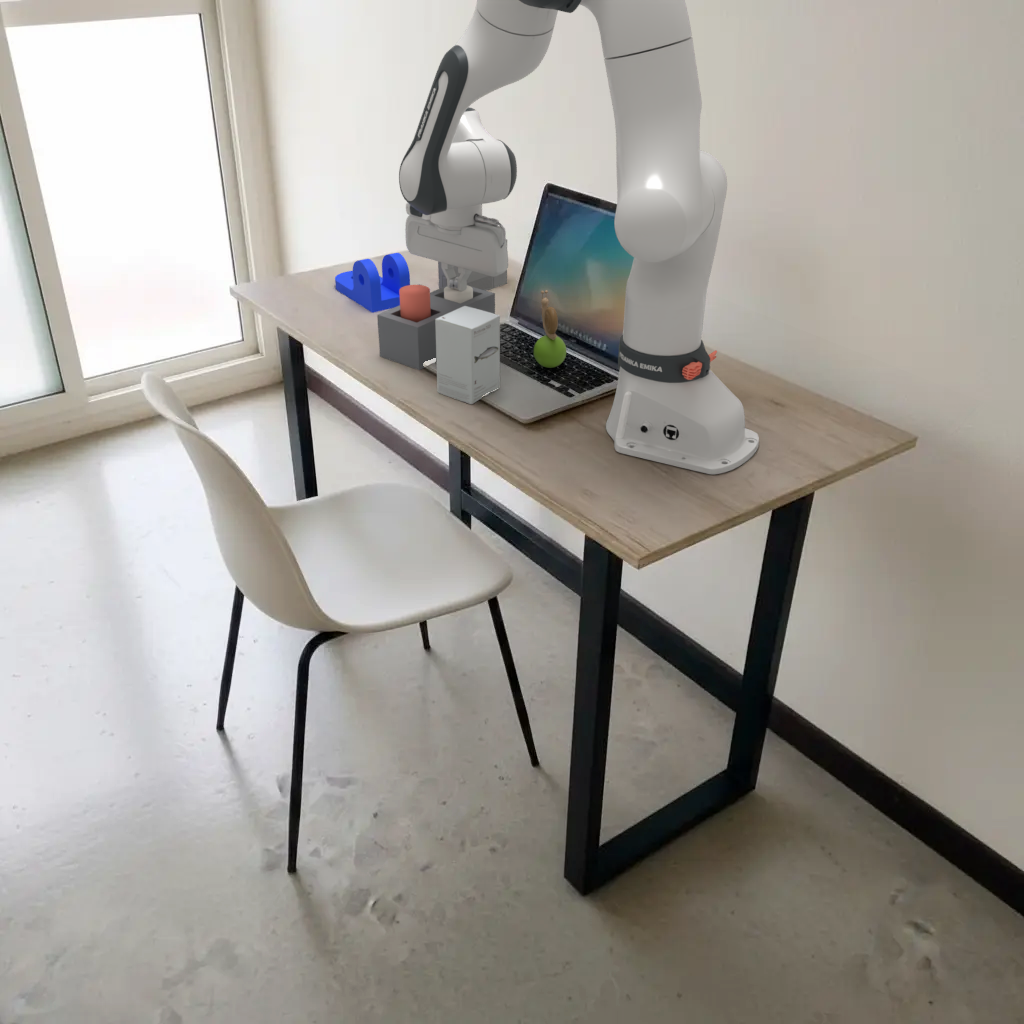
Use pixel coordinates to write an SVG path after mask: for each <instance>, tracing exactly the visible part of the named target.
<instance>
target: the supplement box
mask: <svg viewBox="0 0 1024 1024" xmlns="http://www.w3.org/2000/svg"><path fill="white" fill-rule="evenodd" d="M435 327H436V361H437V362H436V386H437V387H436V390H437V391H436V392H437V393H438V394H441V395H444V396H447V397H449V398H452V399H455V400H458V401H460V402H463V403H467V404H469V405H473V404H474V403H476V402H477V401H479V400H481V399H483V398H482V396H483V395H485V394H486V393H488V392H491V391H493V390H495V389H497V388H499V387H500V385H501V384H500V383H501V381H500V380H501V379H500V378H501V375H500V373H501V372H500V371H501V369H500V368H501V367H500V366H501V364H500V362H501V359H500V358H501V346H500V345H501V315H500V314H496V313H495V314H493V313H490V312H486V311H483V310H479V309H475V308H471V307H468V306H463V307H461V308H459V309H456V310H454V311H452V312H450V313H448V314H445V315H443V316H441V317H439V318H436V319H435ZM499 389H500V388H499Z"/></svg>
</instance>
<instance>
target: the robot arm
mask: <svg viewBox="0 0 1024 1024" xmlns="http://www.w3.org/2000/svg"><path fill="white" fill-rule="evenodd" d="M579 6H583V7H584V8H586V9H587V10H588V11H590V12H591V13H592V15H593V16H594V18H595V20H596V23H597V26H598V31H599V36H600V43H601V47H602V54H603V60H604V61H603V62H604V64H605V70H606V71H605V72H606V77H607V82H608V87H609V93H610V98H611V99H610V100H611V104H612V105H611V106H612V110H613V117H614V126H615V127H614V129H615V139H616V140H615V142H616V144H615V150H616V152H615V153H616V154H615V155H616V164H615V165H616V189H617V192H616V193H617V198H616V199H617V201H616V207H615V208H616V209H615V215H614V224H613V225H614V231H615V236H616V238H617V240H618V243H620V246H621V247H622V248H623V249H624V251H625V252H626V253H628V254H629V255H630V256H631V257H633V261H632V265H631V269H630V273H629V275H628V279H627V281H626V286H625V299H624V313H623V314H624V315H623V316H624V317H623V318H624V319H623V326H622V327H623V328H622V330H623V331H622V334H621V336H620V337H619V338H620V339H619V342H618V343H619V344H618V354H617V355H618V357H617V365H618V366H617V367H618V371H619V372H618V378H617V379H618V380H617V386H616V391H615V395H614V400H613V402H612V406H611V410H610V413H609V416H608V417H607V419H606V420H607V421H606V423H605V430H606V432H607V434H608V436H610V437H611V439H612V440H613V445H614V450H615V451H616V452H618V453H620V454H623V455H627V456H631V457H637V458H641V459H644V460H648V461H653V462H657V463H662V464H666V465H669V466H674V467H677V468H682V469H686V470H691V471H694V472H698V473H702V474H703V473H704V474H707V475H718V474H724V473H727V472H730V471H733V470H734V469H737V468H738V467H740V466H741V465H743V464H744V463H746V462H748V461H749V460H750V459H751V458H752V457H753V456H754V455H755V454H756V452H757V451H758V449H759V444H760V438H759V433H757V432H755V431H754V430H751V429H749V428H746V417H745V416H746V414H745V409H744V408H745V407H744V405H743V403H742V402H741V400H740V399H739V398H738V397H737V396H736V394H734V393H733V392H732V391H731V390H730V389H729V388H728V387H727V386H726V384H724V383H723V381H721V379H720V378H719V377H718V376H717V375H716V374H715V373H714V372H713V371H712V370H711V362H713V361H714V360H715V359H716V358H717V355H716V354H717V353H718V351H717V350H713V351H712V352H710V354H708V351H707V350H706V347H705V344H704V341H703V339H702V337H703V336H702V335H703V327H704V318H705V311H706V301H707V300H706V299H707V292H708V286H709V282H710V277H711V273H712V268H713V265H714V259H715V256H716V255H715V254H716V251H717V245H718V240H719V235H720V230H721V225H722V219H723V213H724V208H725V201H726V199H727V191H728V178H727V177H728V176H727V174H726V171H725V169H724V168H725V167H724V166H723V165H722V163H721V162H720V161H719V160H718V159H717V157H716V156H714V155H713V154H711V153H710V152H707V151H705V150H701V148H700V145H701V143H700V138H701V137H700V130H701V128H700V127H701V113H702V108H703V107H702V106H703V105H702V104H703V101H702V94H701V88H700V86H701V85H700V80H699V74H698V67H697V62H696V61H697V60H696V54H695V46H694V39H693V34H692V33H693V32H692V28H691V27H692V26H691V22H690V17H689V12H688V7H687V4H686V0H476V3H475V9H474V12H473V15H472V17H471V19H470V21H469V24H468V25H467V27H466V29H465V31H463V34H462V36H461V37H460V38H459V39H458V41H457V42H456V44H455V45H454V46H452V47H451V48H450V49H449V50H447V52H446V53H444V55H443V57H442V59H441V61H440V63H439V66H438V68H437V71H436V73H435V76H434V78H433V82H432V84H431V87H430V90H429V93H428V94H427V95H428V96H427V99H426V101H425V102H426V103H425V105H424V107H423V111H422V113H421V116H420V119H419V122H418V125H417V128H416V132H415V133H414V136H413V139H412V141H411V143H410V145H409V147H408V149H407V151H406V152H405V154H404V156H403V158H402V161H401V163H400V165H399V171H398V172H399V173H398V183H399V188H400V192H401V195H402V197H403V199H404V200H405V201H406V203H405V212H406V214H407V215H408V216H407V217H406V220H405V229H404V230H405V246H406V249H407V250H408V252H409V254H411V255H414V256H417V257H422V258H424V259H429V260H431V261H435V262H437V263H438V262H441V268H442V270H443V272H444V274H445V276H446V278H447V287H448V288H450V289H454V290H457V291H461V292H462V291H464V290H466V288H467V279H468V277H469V276H470V274H471V272H472V271H474V272H477V273H481V274H485V275H488V276H492V277H495V276H498V275H500V274H502V273H504V272H505V271H506V270H507V271H508V268H509V254H508V253H509V251H508V242H507V243H506V239H507V237H506V236H507V235H506V233H507V231H506V228H505V227H504V226H503V224H502V223H501V222H500V221H499V220H498V219H497V218H494V217H487V216H485V215H483V205H484V204H485V205H486V204H490V203H497V202H499V201H502V200H506V199H507V198H508V197H509V196H510V195H511V193H512V191H513V189H514V187H515V185H516V181H517V177H518V175H517V174H518V169H517V168H518V167H517V159H516V156H515V153H514V152H513V151H512V150H511V148H510V147H509V145H507V144H506V143H505V142H504V141H502V140H501V139H497V138H495V137H494V136H493V135H492V134H490V133H489V132H488V131H487V129H486V128H485V127H484V126H483V124H482V120H481V116H480V114H479V111H478V110H477V109H475V108H472V107H470V106H472V104H474V103H476V101H478V100H479V99H482V98H483V97H484V96H486V95H488V94H490V93H492V92H494V91H497V90H499V89H501V88H503V87H506V86H508V85H511V84H514V83H516V82H519V81H521V80H522V79H525V78H526V77H528V76H529V75H530V74H532V73H533V72H535V70H536V69H537V68H538V67H539V66H540V64H542V62H543V60H544V59H545V56H546V54H547V52H548V50H549V48H550V44H551V41H552V37H553V32H554V28H555V24H556V20H557V18H558V16H557V15H558V12H563V13H568V14H571V13H573V12H575V11H576V10H577V9H578V7H579ZM454 266H456V267H458V273H461V274H460V276H459V277H456V274H455V271H454V268H453V267H454Z"/></svg>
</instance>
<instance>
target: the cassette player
mask: <svg viewBox="0 0 1024 1024" xmlns="http://www.w3.org/2000/svg"><path fill="white" fill-rule="evenodd" d="M506 243H507V244H508V239H507V238H506ZM437 267H438V273H437V274H438V289H440V288H442V287H445V286H447V278H446V276H445V274H444V272H443V270H442V268H441V262H438V261H437ZM453 268H454V271H455V274H456V277H459V276H460V274H461V273H458V267H456V266H454V267H453ZM507 284H508V269H507V270H506V271H505V272H504V273H502V274H500V275H498V276H495V277H492V276H488V275H485V274H481V273H477V272H474V271H472V272H471V274H470V276H469V277H468V279H467V285H468V286H471V287H475V288H478V289H482V290H485V291H490V290H492V289H496V288H498V287H499V288H500V287H501V286H505V285H507Z"/></svg>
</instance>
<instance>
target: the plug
mask: <svg viewBox="0 0 1024 1024" xmlns="http://www.w3.org/2000/svg"><path fill="white" fill-rule="evenodd" d="M472 298H473V288H472V287H470V286H468V285H467V288H466V290H464V291H462V292H461V291H457V290H454V289H450V288H448V287H445V288H444V299H447V300H450V301H454V302H457V303H463V302H465V301H467V300H470V299H472Z"/></svg>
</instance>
